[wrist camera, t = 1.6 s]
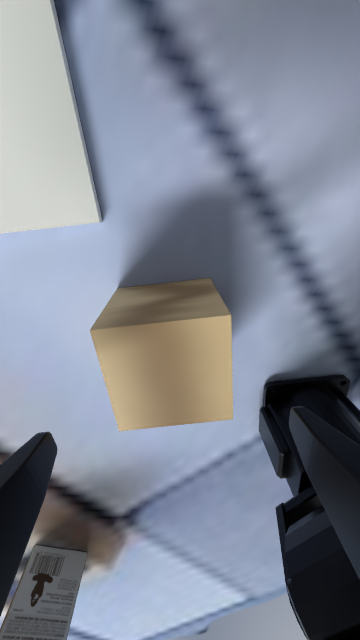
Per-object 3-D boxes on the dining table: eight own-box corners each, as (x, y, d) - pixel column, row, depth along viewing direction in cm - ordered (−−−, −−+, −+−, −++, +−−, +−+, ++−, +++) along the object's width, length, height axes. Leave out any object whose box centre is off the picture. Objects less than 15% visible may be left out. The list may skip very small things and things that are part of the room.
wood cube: (209, 277, 16) (231, 314, 10) (214, 355, 18) (232, 419, 13) (117, 287, 16) (89, 330, 10) (134, 364, 18) (119, 431, 13)
